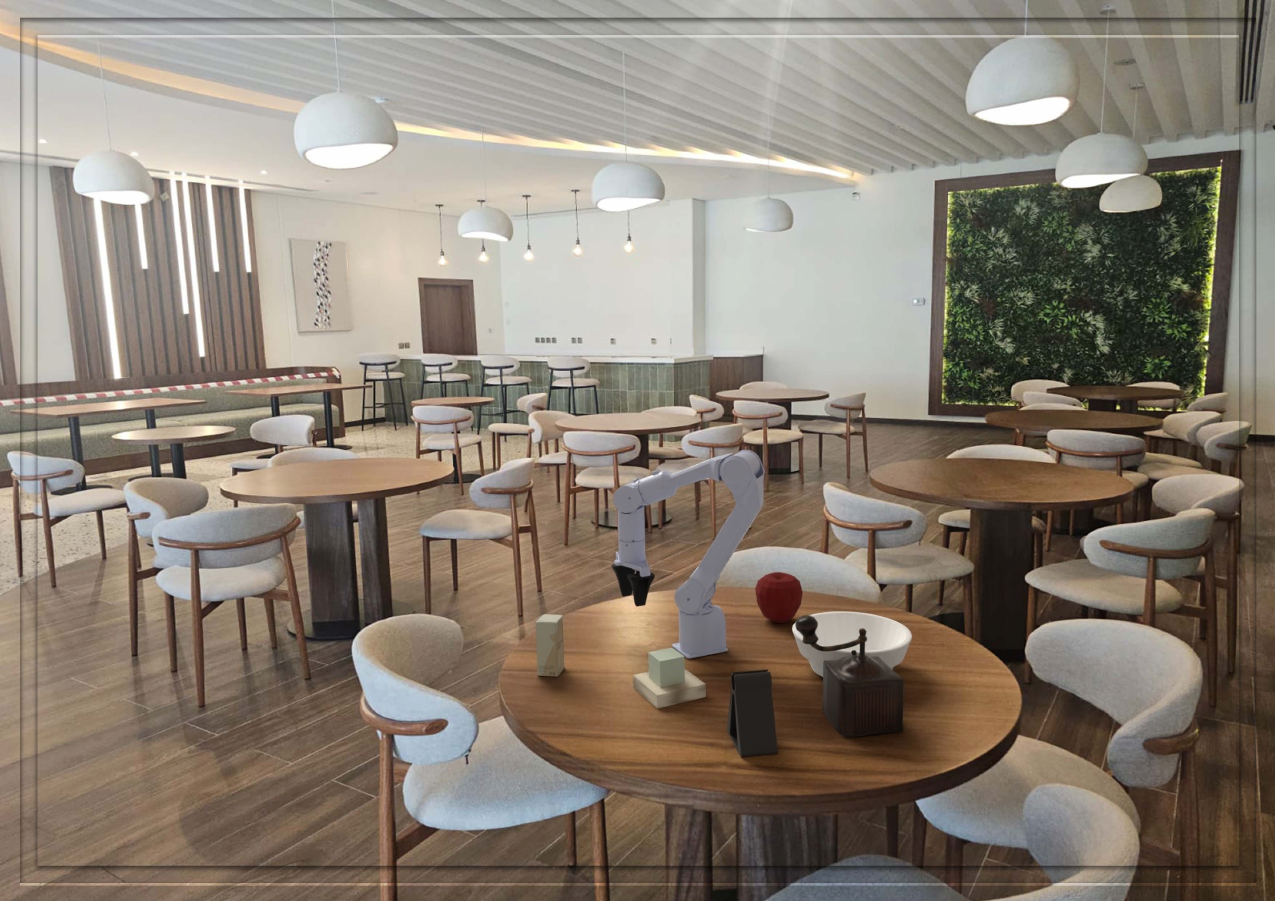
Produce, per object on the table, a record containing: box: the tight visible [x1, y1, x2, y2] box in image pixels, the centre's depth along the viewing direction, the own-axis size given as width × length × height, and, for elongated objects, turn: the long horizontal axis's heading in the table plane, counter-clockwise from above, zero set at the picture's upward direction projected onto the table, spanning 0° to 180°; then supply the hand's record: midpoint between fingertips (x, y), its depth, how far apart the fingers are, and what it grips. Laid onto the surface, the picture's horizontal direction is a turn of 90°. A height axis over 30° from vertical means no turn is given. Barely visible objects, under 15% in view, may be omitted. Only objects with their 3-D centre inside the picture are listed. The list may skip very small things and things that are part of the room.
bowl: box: [791, 611, 913, 678], centre depth 157 cm, size 22×22×8 cm
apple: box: [754, 571, 804, 624], centre depth 186 cm, size 11×11×12 cm
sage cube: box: [647, 647, 686, 688], centre depth 150 cm, size 5×5×5 cm
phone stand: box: [726, 668, 779, 758], centre depth 130 cm, size 9×6×12 cm, turn 8°
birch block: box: [632, 668, 707, 709], centre depth 150 cm, size 10×10×3 cm
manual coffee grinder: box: [795, 614, 904, 739], centre depth 136 cm, size 16×11×18 cm
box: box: [535, 613, 565, 677], centre depth 161 cm, size 5×4×11 cm
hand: (633, 600), depth 175 cm, fingers open, 7 cm apart
